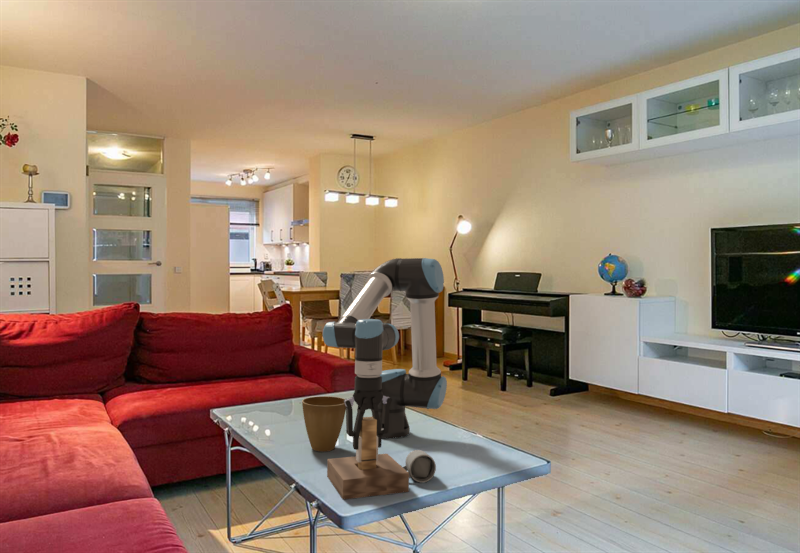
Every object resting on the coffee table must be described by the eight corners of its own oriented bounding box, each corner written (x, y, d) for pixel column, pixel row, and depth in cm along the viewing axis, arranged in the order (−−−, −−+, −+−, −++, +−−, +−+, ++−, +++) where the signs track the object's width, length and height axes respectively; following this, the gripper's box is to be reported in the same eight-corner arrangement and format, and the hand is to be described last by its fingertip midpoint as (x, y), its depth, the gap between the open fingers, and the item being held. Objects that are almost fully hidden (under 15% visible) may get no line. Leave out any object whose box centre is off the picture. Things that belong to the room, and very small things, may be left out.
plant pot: (303, 456, 182) (304, 406, 182) (299, 443, 196) (299, 396, 196) (350, 453, 186) (350, 404, 186) (342, 441, 200) (343, 395, 200)
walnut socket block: (386, 470, 170) (387, 453, 170) (408, 491, 153) (408, 473, 153) (327, 476, 164) (327, 459, 164) (342, 499, 147) (343, 479, 147)
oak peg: (371, 470, 161) (372, 416, 161) (375, 474, 157) (376, 419, 157) (357, 471, 160) (358, 417, 160) (361, 476, 156) (362, 420, 156)
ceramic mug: (427, 472, 169) (428, 446, 169) (436, 481, 161) (436, 454, 161) (392, 475, 167) (392, 448, 167) (399, 484, 159) (399, 457, 159)
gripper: (341, 378, 152) (340, 467, 152) (402, 376, 158) (400, 461, 158) (334, 374, 159) (333, 458, 159) (393, 372, 165) (391, 453, 165)
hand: (366, 459), depth 159 cm, fingers closed on oak peg, 4 cm apart
